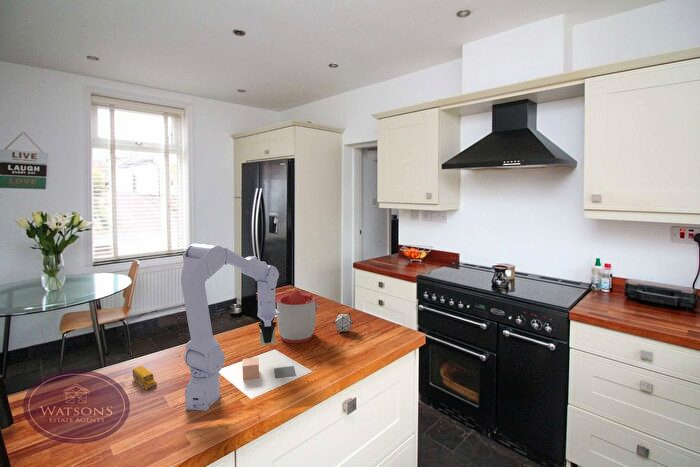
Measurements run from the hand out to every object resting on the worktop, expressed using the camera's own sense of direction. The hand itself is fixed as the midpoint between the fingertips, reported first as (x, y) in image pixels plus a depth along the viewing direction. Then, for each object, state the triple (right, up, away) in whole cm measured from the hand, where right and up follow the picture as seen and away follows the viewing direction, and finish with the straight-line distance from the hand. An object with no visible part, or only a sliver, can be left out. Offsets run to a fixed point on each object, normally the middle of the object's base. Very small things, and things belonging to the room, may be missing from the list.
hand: (267, 339), depth 119 cm
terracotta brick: (-3, -9, -9) cm, 13 cm away
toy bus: (-35, -10, -12) cm, 38 cm away
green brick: (0, -1, 0) cm, 1 cm away
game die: (+25, -6, +29) cm, 39 cm away
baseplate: (0, -9, -6) cm, 11 cm away
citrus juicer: (+8, -7, +22) cm, 24 cm away
